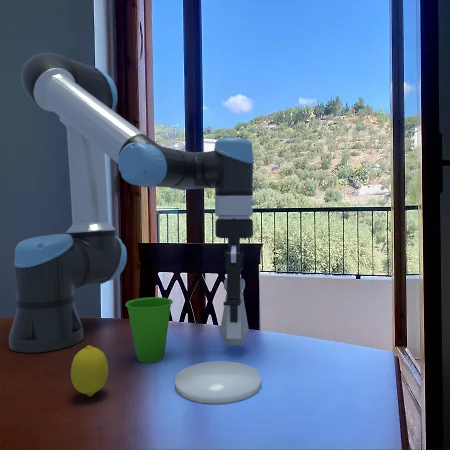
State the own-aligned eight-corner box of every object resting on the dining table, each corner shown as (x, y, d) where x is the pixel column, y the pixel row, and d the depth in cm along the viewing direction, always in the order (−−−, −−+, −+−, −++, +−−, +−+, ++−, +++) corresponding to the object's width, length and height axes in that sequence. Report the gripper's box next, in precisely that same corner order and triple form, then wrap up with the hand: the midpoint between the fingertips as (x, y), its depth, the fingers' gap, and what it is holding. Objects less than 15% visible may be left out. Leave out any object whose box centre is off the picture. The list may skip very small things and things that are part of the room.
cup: (165, 368, 76) (163, 308, 75) (118, 365, 78) (117, 306, 77) (180, 351, 85) (178, 297, 84) (138, 349, 86) (136, 296, 86)
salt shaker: (214, 342, 84) (213, 277, 83) (233, 335, 88) (232, 274, 87) (235, 348, 80) (235, 281, 79) (254, 341, 84) (254, 277, 83)
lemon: (88, 407, 61) (86, 354, 61) (63, 399, 64) (62, 347, 64) (116, 393, 66) (115, 343, 65) (92, 385, 69) (91, 337, 68)
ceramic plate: (159, 381, 70) (159, 374, 70) (225, 361, 78) (225, 355, 78) (207, 413, 59) (207, 404, 59) (278, 386, 67) (278, 379, 67)
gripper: (254, 219, 73) (254, 349, 74) (252, 216, 92) (252, 320, 93) (211, 219, 73) (212, 348, 75) (218, 216, 92) (218, 319, 93)
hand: (234, 332), depth 84 cm, fingers closed on salt shaker, 6 cm apart
